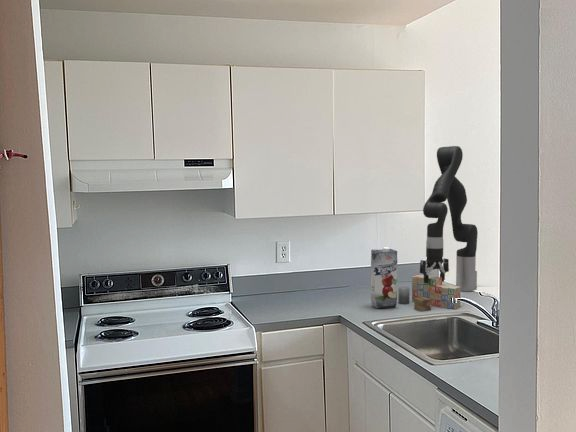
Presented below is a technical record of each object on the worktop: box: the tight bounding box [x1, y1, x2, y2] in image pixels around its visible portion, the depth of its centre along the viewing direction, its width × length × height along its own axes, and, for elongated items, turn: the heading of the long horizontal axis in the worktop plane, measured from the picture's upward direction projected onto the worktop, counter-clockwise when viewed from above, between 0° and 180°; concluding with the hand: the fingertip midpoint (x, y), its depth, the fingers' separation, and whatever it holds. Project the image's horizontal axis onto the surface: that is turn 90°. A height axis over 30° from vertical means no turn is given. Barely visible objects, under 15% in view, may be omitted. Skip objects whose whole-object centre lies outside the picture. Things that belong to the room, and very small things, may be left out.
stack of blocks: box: [411, 274, 462, 310], centre depth 272 cm, size 21×6×12 cm, turn 46°
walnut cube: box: [413, 297, 432, 313], centre depth 263 cm, size 5×5×5 cm
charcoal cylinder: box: [397, 286, 410, 305], centre depth 275 cm, size 5×5×7 cm
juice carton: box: [370, 246, 398, 310], centre depth 268 cm, size 9×10×27 cm
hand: (434, 282), depth 272 cm, fingers open, 8 cm apart
